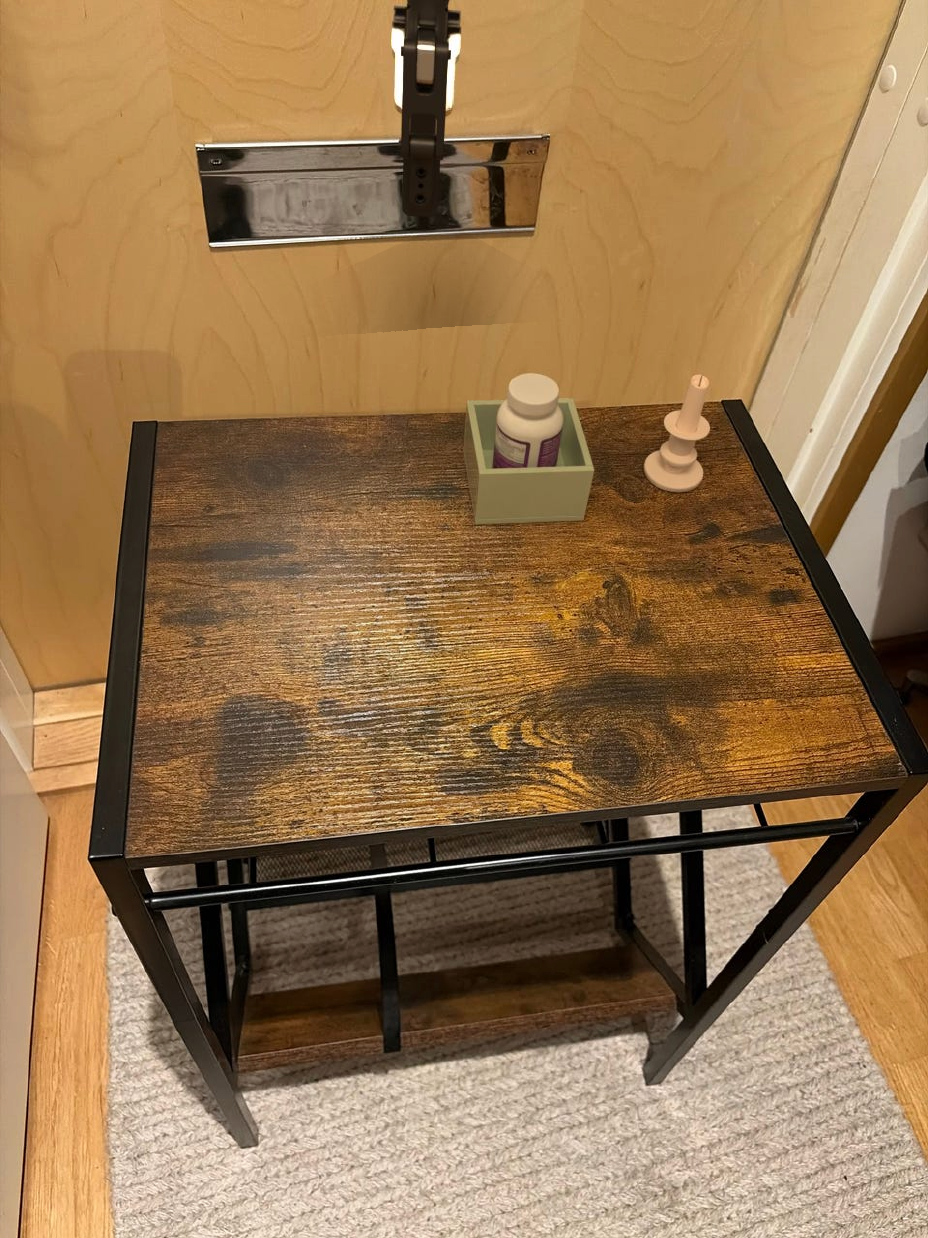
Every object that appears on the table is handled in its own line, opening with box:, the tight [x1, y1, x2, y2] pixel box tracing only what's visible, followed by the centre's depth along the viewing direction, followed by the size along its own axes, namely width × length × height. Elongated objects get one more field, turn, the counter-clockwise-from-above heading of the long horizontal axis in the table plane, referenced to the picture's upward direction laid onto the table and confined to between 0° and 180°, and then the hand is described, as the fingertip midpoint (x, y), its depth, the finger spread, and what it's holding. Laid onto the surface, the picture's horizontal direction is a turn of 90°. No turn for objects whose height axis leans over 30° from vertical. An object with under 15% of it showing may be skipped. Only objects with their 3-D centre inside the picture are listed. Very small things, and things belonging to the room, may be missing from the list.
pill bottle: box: [492, 372, 563, 469], centre depth 77 cm, size 5×5×10 cm
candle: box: [642, 374, 711, 493], centre depth 79 cm, size 5×5×10 cm
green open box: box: [462, 397, 595, 526], centre depth 79 cm, size 9×9×6 cm
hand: (420, 181), depth 61 cm, fingers open, 8 cm apart
